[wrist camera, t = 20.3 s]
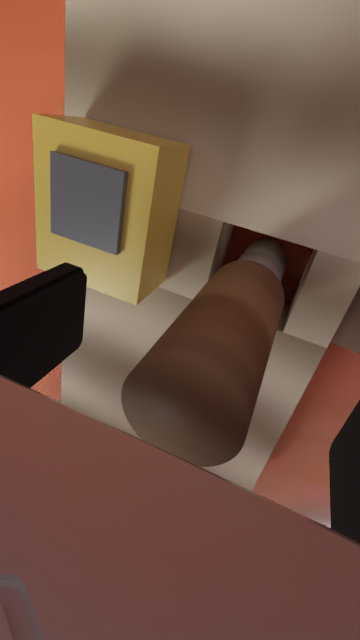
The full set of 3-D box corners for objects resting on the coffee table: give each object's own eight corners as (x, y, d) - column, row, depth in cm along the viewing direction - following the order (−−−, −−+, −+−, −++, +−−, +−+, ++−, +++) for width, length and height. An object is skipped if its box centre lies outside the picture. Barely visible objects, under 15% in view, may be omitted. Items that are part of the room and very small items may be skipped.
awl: (283, 295, 18) (225, 486, 8) (229, 276, 19) (115, 432, 9) (305, 240, 16) (266, 395, 7) (245, 222, 17) (128, 339, 7)
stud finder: (165, 280, 17) (132, 308, 14) (77, 249, 18) (32, 269, 15) (190, 144, 14) (155, 146, 11) (82, 117, 15) (25, 112, 12)
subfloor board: (273, 479, 24) (267, 518, 22) (68, 385, 28) (42, 409, 26) (532, 26, 11) (590, -6, 9) (79, -38, 15) (28, -73, 12)
